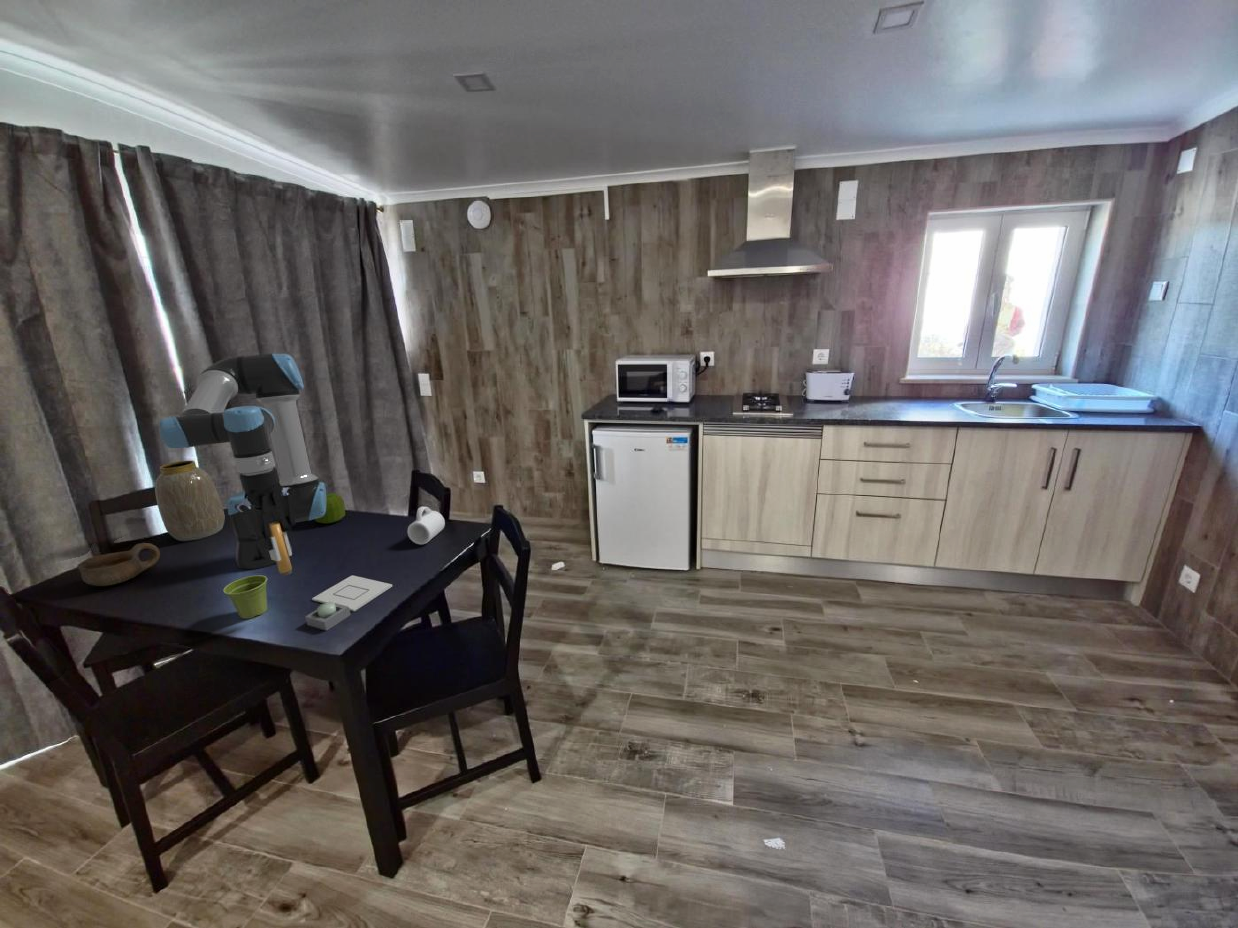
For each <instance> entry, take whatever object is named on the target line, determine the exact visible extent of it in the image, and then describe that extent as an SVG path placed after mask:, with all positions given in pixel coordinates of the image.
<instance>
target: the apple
mask: <svg viewBox="0 0 1238 928" xmlns="http://www.w3.org/2000/svg"><path fill="white" fill-rule="evenodd" d="M345 516H346V510H345V500H344V498H343V497H342V496H341V495H339V494H337V493H326V512H325V515H324V516H323V517H320V518H316V519H314V520H315V522H318V523H320V524H326V525H327V524H332V523H337V522H338V521H341V520H342V519H343V518H344V517H345Z"/></svg>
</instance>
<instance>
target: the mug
mask: <svg viewBox="0 0 1238 928" xmlns="http://www.w3.org/2000/svg"><path fill="white" fill-rule="evenodd" d="M424 511H425V513H423V512H424ZM445 521H446V520H445V518H444V516H443V515H442V514H441V513H440V512H438V511H436V510H432V509H431V508H430V507H427V506H420V507H419V508H418V509H417V511H416V519H415V520H414V521H413V522H412V523H410V524H409V525H408V527H407V536H408V538H409V540H411V541H412V542H413V543H414V544H416V545H421V546H422V545H425V544H428V542H430V541H431V540H432V539H433V538H434V537H436V536H437V535H438V534H439V533H440V532H442V531H443V530H444V528H445V525H446V522H445Z"/></svg>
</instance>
